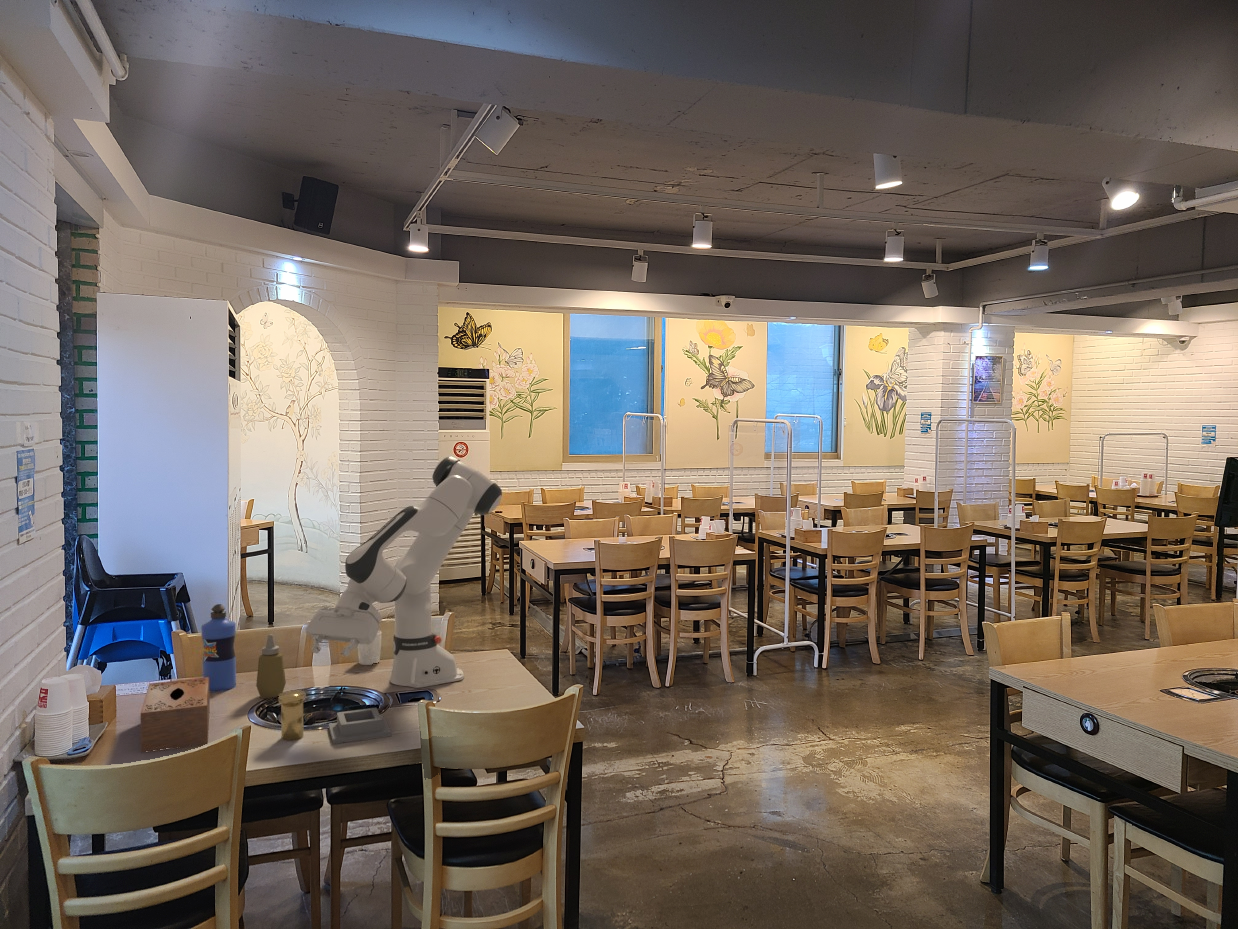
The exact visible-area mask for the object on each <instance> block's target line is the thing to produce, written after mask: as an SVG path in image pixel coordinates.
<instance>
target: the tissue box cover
mask: <svg viewBox="0 0 1238 929" xmlns="http://www.w3.org/2000/svg"><path fill="white" fill-rule="evenodd" d="M210 704H211V703H210V692H209V677H205V678H203V677H199V678H187V679H179V680H169V681H160V682H159V681H158V682H152V683H151V682H150V683H149V684H148V687H147V690H146V694H145V697H144V699H143V704H142V707H141V711H140V752H146V751H153V750H160V749H166V748H175V749H180V748H181V749H182V748H188V747H196V746H204V745H207V744H206V743H209V732H210V731H209V729H210V715H211V714H210V713H211V709H210V707H211V706H210ZM209 714H210V715H209ZM208 731H209V732H208ZM203 744H204V745H203ZM177 747H178V748H177ZM179 747H180V748H179ZM153 752H154V751H153ZM146 753H147V752H146Z"/></svg>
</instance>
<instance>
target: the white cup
mask: <svg viewBox="0 0 1238 929" xmlns="http://www.w3.org/2000/svg"><path fill="white" fill-rule="evenodd" d="M381 648H382V631H381V630H378V632H377V635H376V637H375V639H374V641H373V642H372V643H370V644H369V645H367V644H358V646H357V655H358V664H359V665H361V666H362V665H363V666H364V665H365V666H371V665H372V664H373V663H377V664H379V663H381V662H380V661H381V652H382V650H381ZM378 662H379V663H378ZM373 665H374V664H373Z"/></svg>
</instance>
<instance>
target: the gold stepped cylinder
mask: <svg viewBox="0 0 1238 929" xmlns="http://www.w3.org/2000/svg"><path fill="white" fill-rule="evenodd" d="M306 699H307V698H306V691H304V690H300V689H299V690H296V689H295V690H288V691H283V693H281V694H279V697H278V703H279V704H280V706H281V707H280V709H281V710H280V711H281V712H280V717H281V719H280V720H281V721H280V722H281V724H280V725H281V727H280V728H281V733H280V734H281V740H282V741H285V740H286V741H285V742H293V741H297V740H301V739H302V738H304V701H306Z"/></svg>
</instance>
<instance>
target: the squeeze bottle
mask: <svg viewBox="0 0 1238 929" xmlns="http://www.w3.org/2000/svg"><path fill="white" fill-rule="evenodd" d="M261 652H262V653H261V655H259V656H258V662H257V664H258V665H257V674H256V675H257V676H256V685H255V686H256V688H257V691H258V694H259V697H260V698H261V699H273V698H272V697H276V698H278V697H277V696H279V694H281V693H283V692H284V689H285V686H286V682H287V681H286V674H285V665H284V658H283V656H284V655H283V654H282V653H280V646H279V645H276V642H275V639H274V635H273V634H268V635H267V640H266V644H265V646H263V647H262V648H261Z"/></svg>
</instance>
